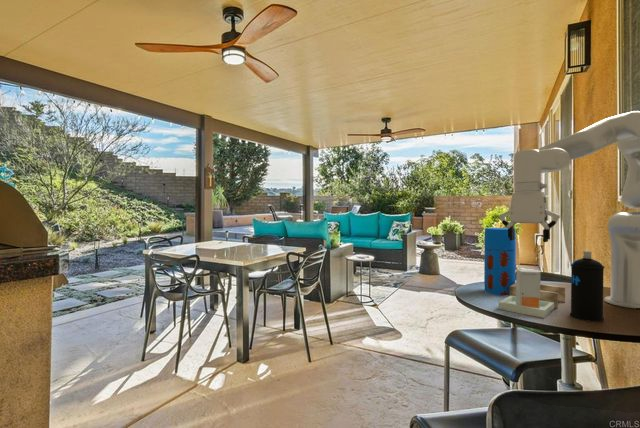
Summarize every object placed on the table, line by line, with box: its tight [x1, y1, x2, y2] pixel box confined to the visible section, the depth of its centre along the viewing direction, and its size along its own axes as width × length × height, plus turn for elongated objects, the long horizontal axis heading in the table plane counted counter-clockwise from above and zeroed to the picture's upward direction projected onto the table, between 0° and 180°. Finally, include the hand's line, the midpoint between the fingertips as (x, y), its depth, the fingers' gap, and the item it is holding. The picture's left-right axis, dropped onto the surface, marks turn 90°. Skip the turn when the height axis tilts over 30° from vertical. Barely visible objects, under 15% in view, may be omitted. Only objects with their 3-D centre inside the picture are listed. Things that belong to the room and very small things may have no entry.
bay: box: [508, 282, 566, 309], centre depth 123 cm, size 14×12×5 cm
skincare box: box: [515, 269, 542, 309], centre depth 113 cm, size 6×4×12 cm
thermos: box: [483, 227, 517, 296], centre depth 135 cm, size 11×11×25 cm
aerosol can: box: [569, 250, 606, 323], centre depth 104 cm, size 8×8×20 cm
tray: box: [498, 295, 555, 319], centre depth 113 cm, size 13×12×2 cm
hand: (528, 240), depth 112 cm, fingers open, 9 cm apart
